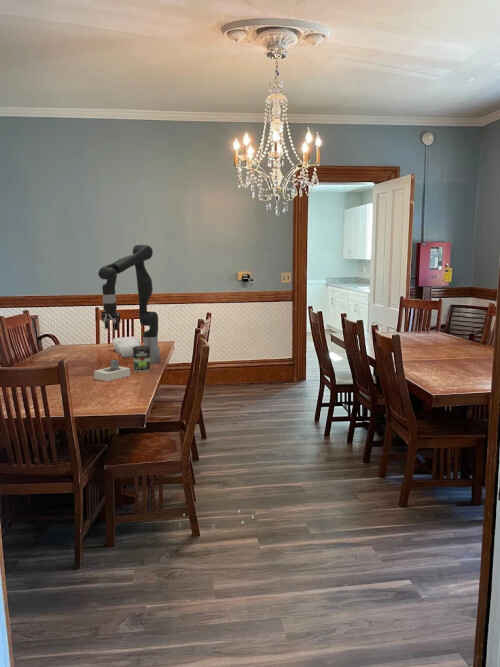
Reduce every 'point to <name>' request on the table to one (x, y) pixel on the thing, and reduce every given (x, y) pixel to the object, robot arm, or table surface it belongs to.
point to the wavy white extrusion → (125, 345)
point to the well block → (111, 373)
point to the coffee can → (141, 358)
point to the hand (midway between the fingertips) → (111, 329)
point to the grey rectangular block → (114, 365)
